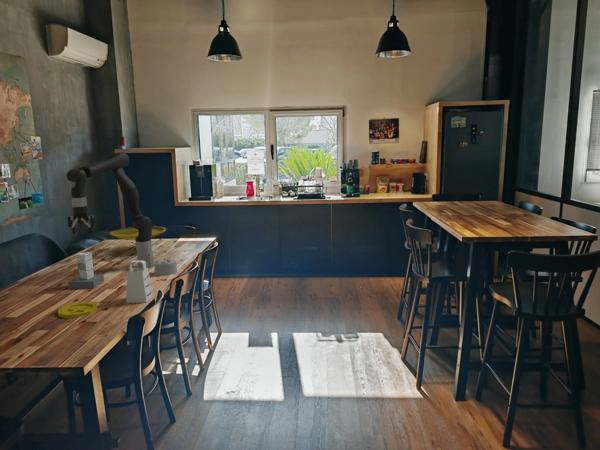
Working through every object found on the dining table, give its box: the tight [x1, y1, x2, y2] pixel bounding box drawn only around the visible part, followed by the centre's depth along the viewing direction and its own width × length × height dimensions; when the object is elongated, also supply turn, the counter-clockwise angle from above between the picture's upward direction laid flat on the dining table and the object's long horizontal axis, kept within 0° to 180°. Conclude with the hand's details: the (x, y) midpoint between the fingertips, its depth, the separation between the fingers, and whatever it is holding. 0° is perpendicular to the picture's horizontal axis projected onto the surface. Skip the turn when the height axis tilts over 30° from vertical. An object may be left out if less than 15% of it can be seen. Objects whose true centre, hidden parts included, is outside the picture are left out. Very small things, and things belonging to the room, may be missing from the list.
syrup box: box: [76, 251, 95, 279], centre depth 265 cm, size 6×6×14 cm
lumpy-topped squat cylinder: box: [153, 257, 178, 277], centre depth 288 cm, size 10×13×9 cm
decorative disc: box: [57, 301, 98, 319], centre depth 224 cm, size 17×18×2 cm
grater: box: [125, 259, 154, 304], centre depth 240 cm, size 10×10×20 cm
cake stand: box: [109, 225, 167, 254], centre depth 348 cm, size 40×40×15 cm
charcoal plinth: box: [67, 273, 105, 290], centre depth 267 cm, size 14×14×4 cm
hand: (82, 234), depth 263 cm, fingers open, 8 cm apart
